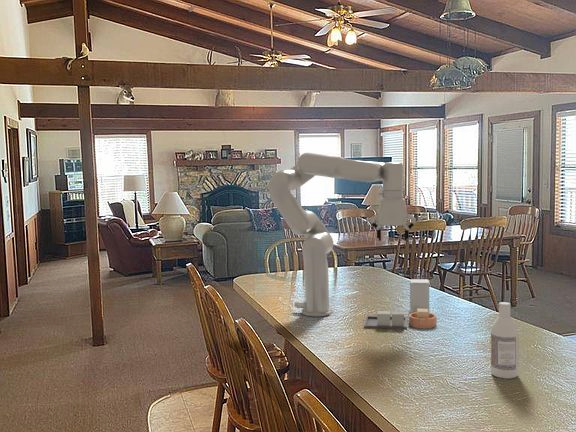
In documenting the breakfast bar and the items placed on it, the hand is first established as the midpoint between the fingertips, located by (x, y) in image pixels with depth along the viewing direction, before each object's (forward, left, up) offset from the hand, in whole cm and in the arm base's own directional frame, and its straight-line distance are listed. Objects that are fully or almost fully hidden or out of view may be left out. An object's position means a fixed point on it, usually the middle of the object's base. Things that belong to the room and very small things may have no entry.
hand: (392, 240), depth 210 cm
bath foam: (+31, -55, -30) cm, 70 cm away
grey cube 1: (-3, -13, -29) cm, 32 cm away
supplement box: (+10, +9, -30) cm, 33 cm away
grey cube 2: (+2, -13, -29) cm, 32 cm away
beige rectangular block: (+11, -9, -29) cm, 32 cm away
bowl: (+11, -9, -30) cm, 33 cm away
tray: (-3, -9, -30) cm, 31 cm away
